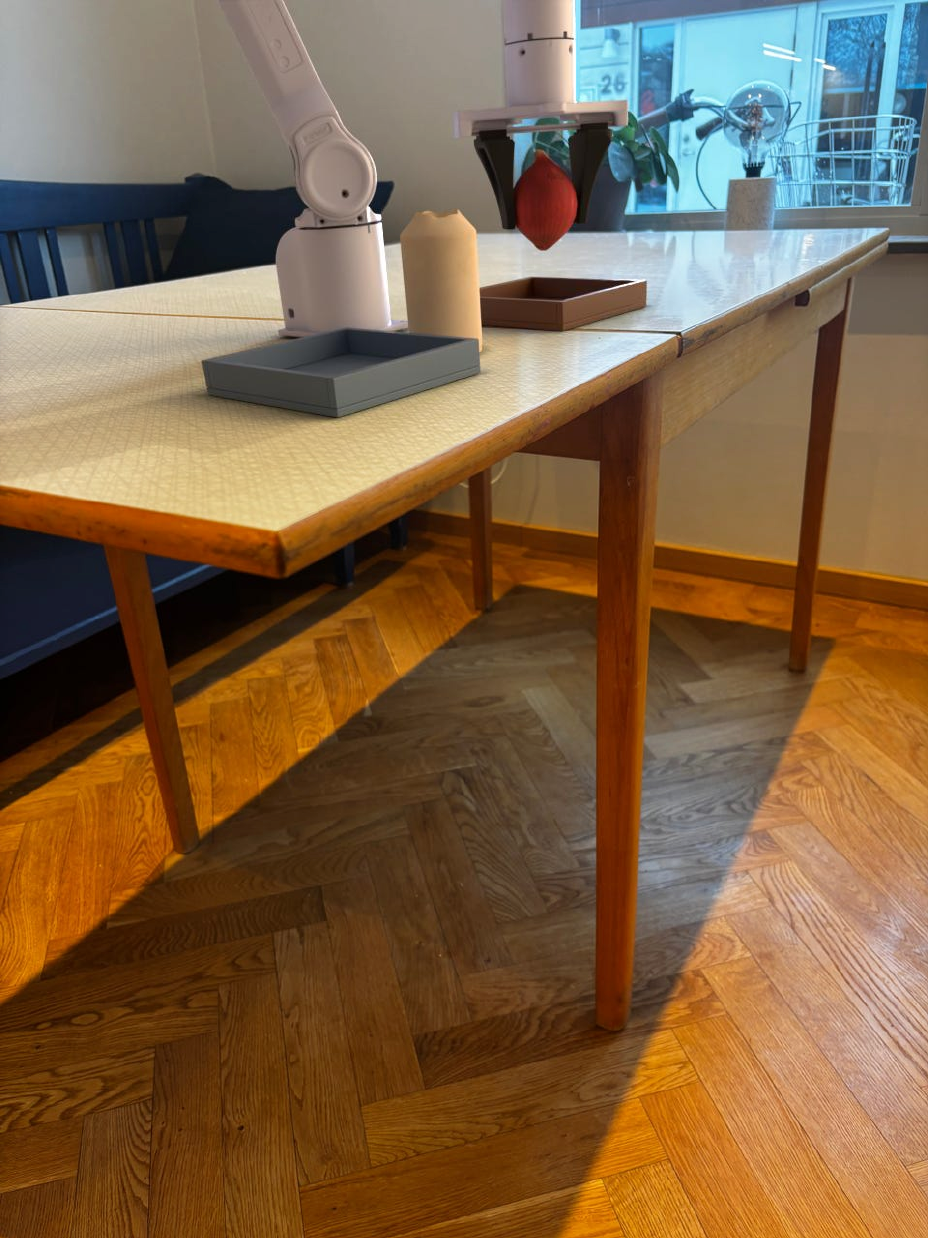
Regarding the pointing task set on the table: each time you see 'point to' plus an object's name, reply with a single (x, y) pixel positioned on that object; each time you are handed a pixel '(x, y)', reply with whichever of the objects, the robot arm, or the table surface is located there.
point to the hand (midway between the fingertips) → (543, 225)
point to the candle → (441, 275)
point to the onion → (544, 202)
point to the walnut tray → (558, 301)
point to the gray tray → (341, 369)
